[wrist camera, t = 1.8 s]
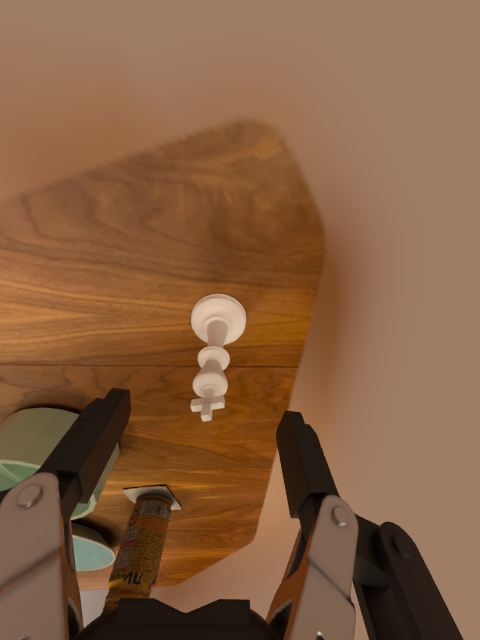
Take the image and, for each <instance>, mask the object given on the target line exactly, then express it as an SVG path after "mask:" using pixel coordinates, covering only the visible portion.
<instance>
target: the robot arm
mask: <svg viewBox="0 0 480 640" xmlns="http://www.w3.org/2000/svg"><path fill="white" fill-rule="evenodd" d="M130 412H131V404H130V390H126V389H118V388H112V389H111V390H110V391H109V392H108V394H107V395H106V397H105V398H104V399H101V398H96V399H95V400H94V401H92V402H91V403H90V404H88V405H87V406H86V407H85V408H84V409H83V411H82V412H81V413H80V415H79V416H78V417H77V420H75V421H74V423H73V424H72V425H71V427H70V429H68V431H67V432H66V433H65V435H64V436H63V437H62V439H61V440H60V441H59V443H58V444H57V445H56V447H55V448H54V449H53V451H52V452H51V453H50V455H49V456H48V457H47V459H46V460H45V462H44V463H43V464H42V465H41V467H40V468H39V469H38V470H37V471H36V472H35V473H34V474H33V475H32V476H29V477H27V478H25V479H24V480H22V481H21V482H19V483H18V484H17V485H15V486H14V487H12V488H9V489H7V490H3V491H0V640H354V632H355V622H356V612H355V607H354V604H353V603H352V601H351V597H350V592H351V585H352V581H353V584H354V588H355V591H356V595H357V598H358V602H359V606H360V609H361V613H362V616H363V620H364V623H365V627H366V630H367V634H368V637H369V640H463V638H462V636H461V634H460V632H459V630H458V628H457V626H456V624H455V622H454V620H453V618H452V616H451V614H450V612H449V610H448V608H447V606H446V604H445V602H444V600H443V598H442V596H441V594H440V592H439V590H438V588H437V586H436V584H435V582H434V580H433V578H432V576H431V574H430V572H429V570H428V568H427V566H426V564H425V562H424V560H423V558H422V556H421V554H420V552H419V550H418V548H417V547H416V545H415V543H414V542H413V540H412V539H411V538H410V536H409V535H408V534H407V533H406V532H405V531H404V530H403V529H402V528H401V527H399V526H398V525H396V524H394V523H391V522H384V523H383V524H381V525H380V526H379V525H376V524H374V523H372V522H370V521H368V520H366V519H364V518H362V517H360V516H358V515H356V514H355V513H354V512H353V511H352V509H351V508H350V506H349V505H348V504H347V503H346V502H345V501H344V500H343V499H341V497H340V496H339V494H338V491H337V489H336V486H335V483H334V480H333V478H332V475H331V472H330V469H329V467H328V464H327V461H326V458H325V456H324V453H323V450H322V448H321V445H320V442H319V439H318V436H317V434H316V433H315V431H314V430H313V429H312V427H311V426H310V425H309V424H305V423H304V420H303V417H302V414H301V413H300V412H293V411H285V413H284V415H283V417H282V419H281V421H280V423H279V426H278V428H277V432H276V440H277V446H278V451H279V456H280V462H281V467H282V473H283V478H284V484H285V489H286V495H287V500H288V506H289V511H290V516H291V518H299V520H300V524H301V528H300V530H299V532H298V535H297V538H296V541H295V544H294V547H293V550H292V553H291V556H290V559H289V562H288V565H287V568H286V571H285V574H284V577H283V579H282V582H281V584H280V586H279V588H278V590H277V592H276V594H275V596H274V598H273V601H272V603H271V606H270V609H269V612H268V615H267V618H266V621H265V620H264V619H263V618H262V617H261V616H260V615H259V614H257V613H256V612H255V611H253V610H251V609H250V600H236V599H235V600H234V599H219V600H217V601H214V602H212V603H210V604H208V605H205V606H202V607H200V608H198V609H195V610H193V611H191V612H188V613H183V612H181V611H179V610H177V609H175V608H173V607H171V606H168V605H166V604H164V603H162V602H160V601H158V600H156V599H154V598H120V600H119V604H118V607H115V608H113V609H111V610H109V611H107V612H105V613H104V614H102V615H100V616H99V617H98V618H96V619H95V620H93V621H92V622H91V623H90V624H89V625H87V626H86V627H85V628H84V627H83V617H82V608H81V599H80V592H79V586H78V581H77V575H76V567H75V556H74V546H73V536H72V526H71V516H72V514H73V512H74V510H75V508H76V506H77V504H78V503H82V504H88V502H89V500H90V498H91V496H92V494H93V492H94V490H95V488H96V486H97V484H98V482H99V480H100V477H101V475H102V473H103V471H104V469H105V467H106V465H107V463H108V461H109V459H110V457H111V455H112V453H113V451H114V449H115V447H116V445H117V443H118V441H119V439H120V437H121V435H122V433H123V431H124V429H125V427H126V425H127V423H128V420H129V417H130Z"/></svg>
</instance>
